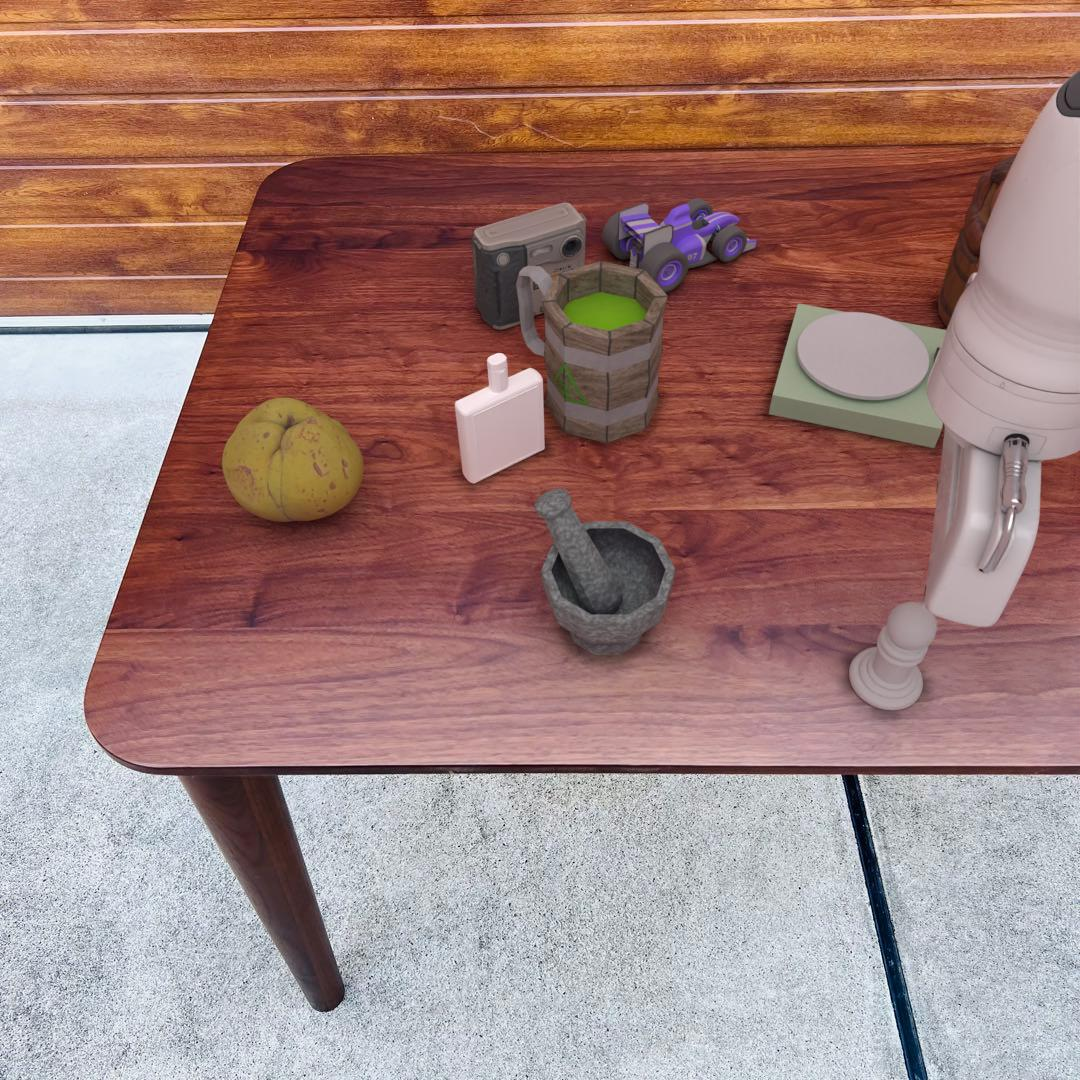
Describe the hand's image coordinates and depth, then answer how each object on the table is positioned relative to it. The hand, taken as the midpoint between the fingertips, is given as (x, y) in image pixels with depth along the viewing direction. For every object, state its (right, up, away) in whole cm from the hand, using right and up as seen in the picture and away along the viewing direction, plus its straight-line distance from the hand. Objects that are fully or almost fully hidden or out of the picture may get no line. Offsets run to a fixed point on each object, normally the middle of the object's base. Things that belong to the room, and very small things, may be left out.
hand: (943, 545), depth 63 cm
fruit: (-46, +3, +25) cm, 53 cm away
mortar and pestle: (-21, -6, +17) cm, 27 cm away
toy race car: (-10, +31, +47) cm, 57 cm away
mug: (-21, +15, +34) cm, 42 cm away
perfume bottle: (-28, +7, +28) cm, 41 cm away
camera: (-26, +25, +42) cm, 55 cm away
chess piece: (+1, -10, +13) cm, 16 cm away
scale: (+5, +15, +33) cm, 37 cm away
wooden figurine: (+20, +22, +38) cm, 48 cm away
